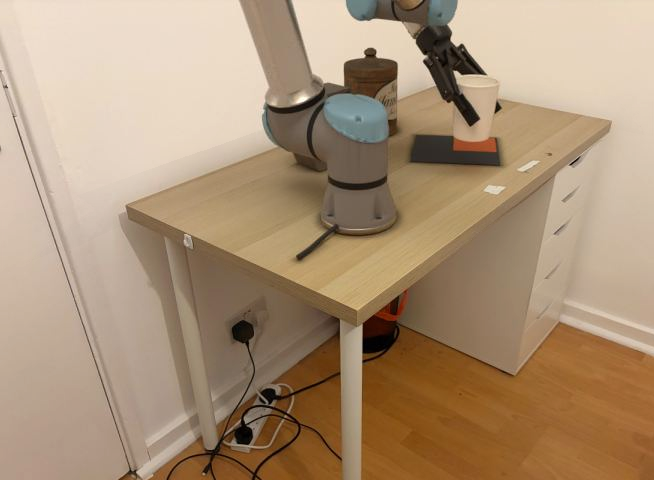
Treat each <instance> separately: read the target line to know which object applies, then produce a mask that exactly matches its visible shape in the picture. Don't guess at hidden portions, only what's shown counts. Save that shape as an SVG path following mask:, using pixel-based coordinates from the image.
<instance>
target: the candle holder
mask: <svg viewBox="0 0 654 480" xmlns="http://www.w3.org/2000/svg"><path fill="white" fill-rule="evenodd" d="M455 78H456V81H457V85H458V88H459V91H460V94H459V95H461V94H462V93H463V94H464V96H465V97H466V99H467V100H468V101H469V102H470V104H471V105H472V107H473V108H474V110H475V111H476V113H477V114H478V116H479V117H480V120H479V121H477V122H476V123H475V124H474V125H473V126H471V127H469V125H468V124H467V122H466V121H465V119H464V117H463V116H462V114H461V113H460V112H459V110H458V109H457V107H456V106H455V104H454V103H453V102H452V127H451V128H452V129H451V130H452V136H454V137H455V138H456V139H459V140H462V141H468V142H480V141H485V140H487V139H488V138H489V137H491V133H492V129H493V122H494V117H495V115H494V113H495V107H496V102H497V101H498V96H499V91H500V85H501V80H500V79H499V78H497V77H495V76H492V75H488V76H486V75H457V76H455Z"/></svg>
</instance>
